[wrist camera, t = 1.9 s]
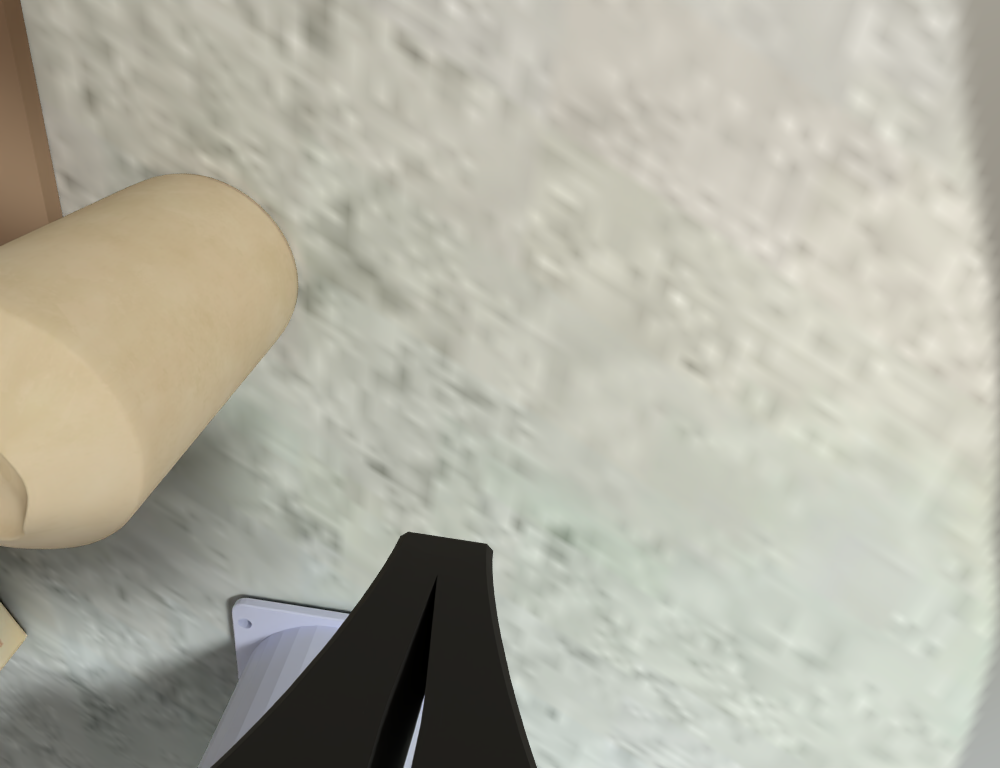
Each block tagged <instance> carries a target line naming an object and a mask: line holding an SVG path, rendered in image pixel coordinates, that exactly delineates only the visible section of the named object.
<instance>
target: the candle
mask: <svg viewBox="0 0 1000 768" xmlns="http://www.w3.org/2000/svg"><path fill="white" fill-rule="evenodd" d="M297 296H298V275H297V269H296V264H295V260H294V257H293V254H292V251H291V249H290V247H289V245H288V242H287V240H286V238H285V237H284V235H283V233H282V232H281V230H280V229H279V227H278V226H277V224H276V223H275V222H274V221H273V219H272V218H271V217H270V216H269V214H268V213H267V212H266V211H265V210H264V209H263V208H262V207H261V206H260V205H258V204H257V203H256V202H255V201H254V200H252V199H251V198H250V197H249V196H247V195H246V194H244V193H242V192H241V191H239V190H238V189H236V188H234V187H232V186H230V185H228V184H226V183H224V182H221V181H219V180H216V179H213V178H210V177H206V176H201V175H195V174H169V175H163V176H157V177H153V178H150V179H147V180H144V181H142V182H139V183H137V184H135V185H132V186H130V187H127V188H125V189H123V190H121V191H119V192H116V193H114V194H112V195H110V196H108V197H106V198H103V199H101V200H99V201H97V202H95V203H93V204H91V205H88V206H86V207H84V208H82V209H80V210H78V211H75V212H73V213H71V214H69V215H67V216H65V217H62V218H60V219H58V220H56V221H54V222H52V223H49V224H47V225H45V226H43V227H41V228H39V229H36V230H34V231H32V232H30V233H28V234H26V235H24V236H21V237H19V238H17V239H15V240H13V241H11V242H8V243H6V244H4V245H2V246H0V546H5V547H13V548H24V549H61V548H72V547H79V546H83V545H88V544H92V543H94V542H97V541H100V540H102V539H105V538H106V537H108V536H110V535H112V534H113V533H115V532H117V531H118V530H119V529H120V528H121V527H123V526H124V525H125V524H126V523H127V522H128V521H129V519H130V518H131V517H132V516H133V515H134V513H135V512H136V511H137V510H138V509H139V507H140V506H141V505H142V504H143V503H144V501H145V500H146V499H147V498H148V497H149V495H150V494H151V493H152V492H153V490H154V489H155V488H156V487H157V486H158V484H159V483H160V482H161V481H162V480H163V478H164V477H165V476H166V475H167V473H168V472H169V471H170V470H171V469H172V467H173V466H174V465H175V464H176V463H177V461H178V460H179V459H180V458H181V456H182V455H183V454H184V453H185V452H186V450H187V449H188V448H189V447H190V445H191V444H192V443H193V442H194V441H195V439H196V438H197V437H198V436H199V435H200V433H201V432H202V431H203V430H204V428H205V427H206V426H207V425H208V424H209V422H210V421H211V420H212V419H213V417H214V416H215V415H216V414H217V413H218V411H219V410H220V409H221V408H222V407H223V405H224V404H225V403H226V402H227V400H228V399H229V398H230V397H231V396H232V394H233V393H234V392H235V391H236V389H237V388H238V387H239V386H240V385H241V383H242V382H243V381H244V380H245V379H246V377H247V376H248V375H249V374H250V372H251V371H252V370H253V369H254V368H255V366H256V365H257V364H258V363H259V362H260V360H261V359H262V358H263V357H264V355H265V354H266V353H267V352H268V351H269V349H270V348H271V347H272V346H273V344H274V343H275V342H276V341H277V339H278V338H279V337H280V335H281V334H282V333H283V331H284V330H285V328H286V326H287V325H288V323H289V321H290V319H291V316H292V314H293V311H294V308H295V305H296V301H297Z"/></svg>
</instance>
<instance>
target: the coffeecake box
mask: <svg viewBox="0 0 1000 768" xmlns="http://www.w3.org/2000/svg"><path fill="white" fill-rule="evenodd" d="M26 638H27V635H26V633H25V632H24V631H23V629H22V628H21V627H20V626H19V625H18V623H17V622H16V621H15V620H14V618H13V617H12V616H11V615H10V613H9V612H8V611H7V610H6V608H5V607H4V606H3V605H2V603H1V602H0V671H1V670H2V669H3V667H4V666H5V665H6V663H7V662H8V661H9V660H10V658H11V657H12V656H13V654H14V653H15V652H16V651H17V649H18V648H19V647H20V645H21V644H22V643H23V641H24V640H25V639H26Z"/></svg>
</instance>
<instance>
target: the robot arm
mask: <svg viewBox="0 0 1000 768" xmlns="http://www.w3.org/2000/svg"><path fill="white" fill-rule="evenodd" d="M492 557H493V550H492V549H491V548H490V547H489V546H488V545H487V544H484V543H478V542H471V541H465V540H458V539H452V538H445V537H439V536H432V535H426V534H419V533H413V532H407V533H405V534H404V535H402V536H400V538H399V540H398V542H397V544H396V546H395V548H394V549H393V551H392V553H391V554H390V556H389V558H388V559H387V561H386V563H385V564H384V566H383V568H382V569H381V571H380V572H379V574H378V575H377V577H376V578H375V580H374V581H373V583H372V584H371V585H370V587H369V588H368V590H367V591H366V593H365V594H364V596H363V597H362V598H361V600H360V601H359V602H358V604H357V605H356V606H355V608H354V609H353V610H352V612H351V613H350V614H347V613H341V612H335V611H328V610H322V609H315V608H309V607H303V606H296V605H290V604H283V603H277V602H271V601H264V600H258V599H252V598H240V599H238V600H237V601H236V602H235V604H234V606H233V608H232V620H233V630H234V639H235V649H236V659H237V669H238V678H239V681H238V683H237V685H236V688H235V690H234V692H233V694H232V696H231V698H230V700H229V702H228V704H227V706H226V709H225V711H224V713H223V715H222V717H221V719H220V721H219V723H218V725H217V727H216V730H215V732H214V734H213V736H212V738H211V740H210V742H209V744H208V746H207V748H206V751H205V753H204V755H203V757H202V759H201V761H200V763H199V765H198V767H197V768H537V766H536V763H535V760H534V757H533V754H532V751H531V748H530V745H529V742H528V739H527V736H526V732H525V729H524V726H523V722H522V719H521V715H520V712H519V708H518V705H517V702H516V698H515V694H514V690H513V686H512V683H511V679H510V675H509V670H508V666H507V661H506V657H505V652H504V648H503V643H502V639H501V634H500V628H499V623H498V617H497V610H496V603H495V596H494V587H493V571H492Z"/></svg>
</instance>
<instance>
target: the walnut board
mask: <svg viewBox="0 0 1000 768" xmlns="http://www.w3.org/2000/svg"><path fill="white" fill-rule="evenodd" d="M62 217H63V216H62V211H61V206H60V201H59V196H58V191H57V186H56V181H55V175H54V170H53V165H52V160H51V155H50V150H49V145H48V140H47V135H46V130H45V125H44V120H43V115H42V109H41V104H40V99H39V94H38V89H37V84H36V79H35V74H34V69H33V64H32V59H31V54H30V49H29V43H28V38H27V33H26V28H25V23H24V18H23V13H22V8H21V3H20V0H0V246H2V245H4V244H6V243H8V242H11V241H13V240H15V239H17V238H19V237H21V236H24V235H26V234H28V233H30V232H32V231H34V230H36V229H39V228H41V227H43V226H45V225H47V224H49V223H52V222H54V221H56V220H58V219H60V218H62Z"/></svg>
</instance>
